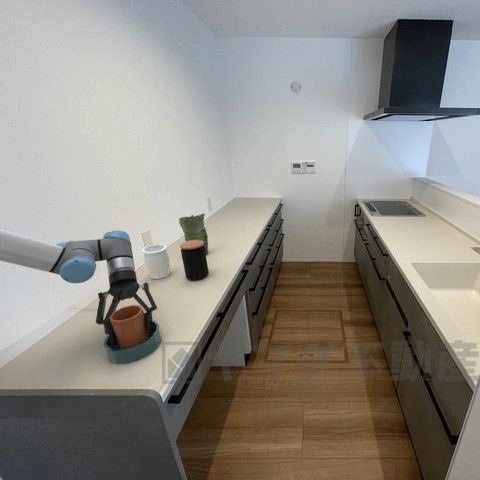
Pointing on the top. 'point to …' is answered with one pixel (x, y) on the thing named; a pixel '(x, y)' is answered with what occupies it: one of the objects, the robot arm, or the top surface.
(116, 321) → the terracotta pot
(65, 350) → the top surface
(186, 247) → the coffee jar
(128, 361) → the teal round bowl
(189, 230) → the pouch
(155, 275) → the jar
